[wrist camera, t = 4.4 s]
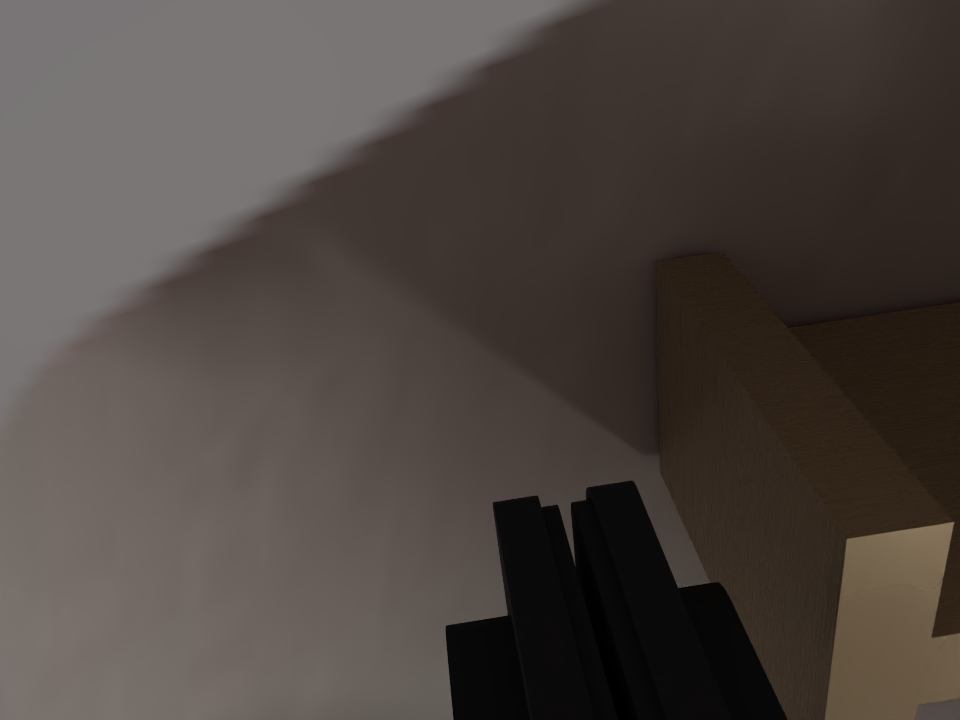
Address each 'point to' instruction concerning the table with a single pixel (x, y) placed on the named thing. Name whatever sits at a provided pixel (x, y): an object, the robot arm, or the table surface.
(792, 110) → the table surface
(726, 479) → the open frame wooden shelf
